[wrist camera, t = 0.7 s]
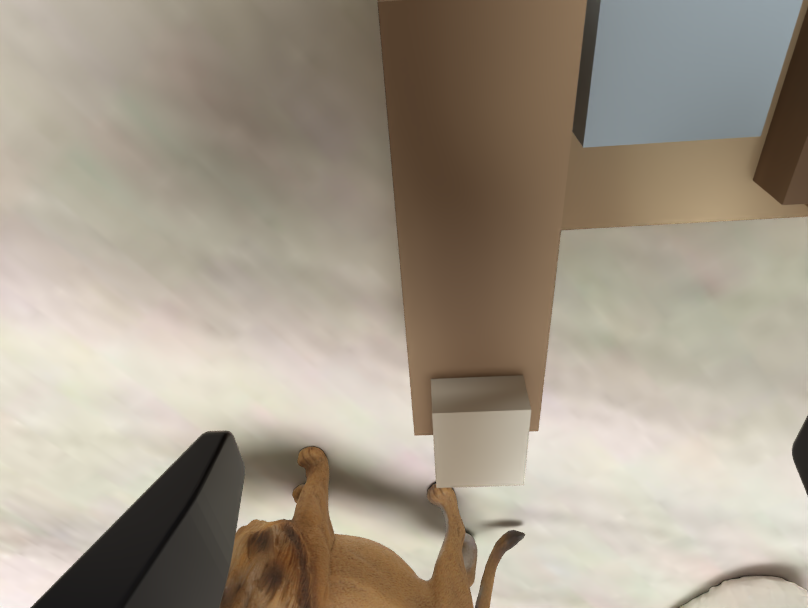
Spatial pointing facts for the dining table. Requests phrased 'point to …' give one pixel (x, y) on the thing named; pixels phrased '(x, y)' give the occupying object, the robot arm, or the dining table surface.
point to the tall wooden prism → (479, 214)
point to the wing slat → (679, 69)
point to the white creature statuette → (752, 594)
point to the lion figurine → (350, 559)
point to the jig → (702, 167)
